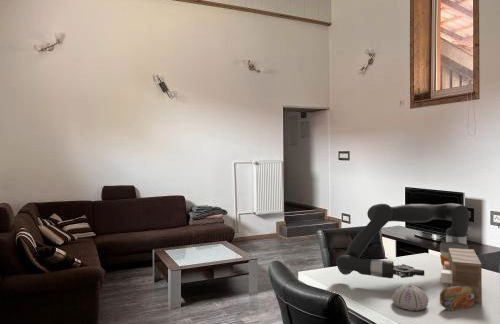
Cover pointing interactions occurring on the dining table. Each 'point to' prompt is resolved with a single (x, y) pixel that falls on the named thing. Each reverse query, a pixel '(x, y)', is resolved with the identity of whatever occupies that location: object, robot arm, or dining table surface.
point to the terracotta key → (446, 265)
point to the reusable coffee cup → (445, 250)
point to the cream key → (446, 276)
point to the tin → (457, 297)
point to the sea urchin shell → (410, 298)
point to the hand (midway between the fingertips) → (424, 273)
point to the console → (466, 270)
